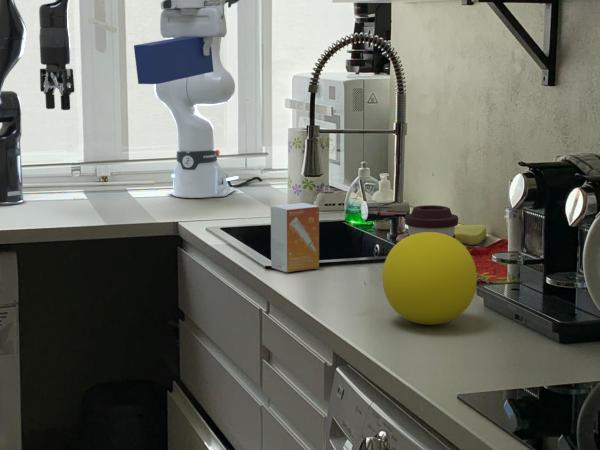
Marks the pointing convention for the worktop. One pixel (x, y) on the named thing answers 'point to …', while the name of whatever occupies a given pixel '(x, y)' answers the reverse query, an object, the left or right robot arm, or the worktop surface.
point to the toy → (429, 278)
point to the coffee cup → (431, 220)
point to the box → (171, 60)
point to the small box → (295, 237)
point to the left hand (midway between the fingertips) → (58, 109)
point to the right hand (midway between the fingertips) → (193, 55)
